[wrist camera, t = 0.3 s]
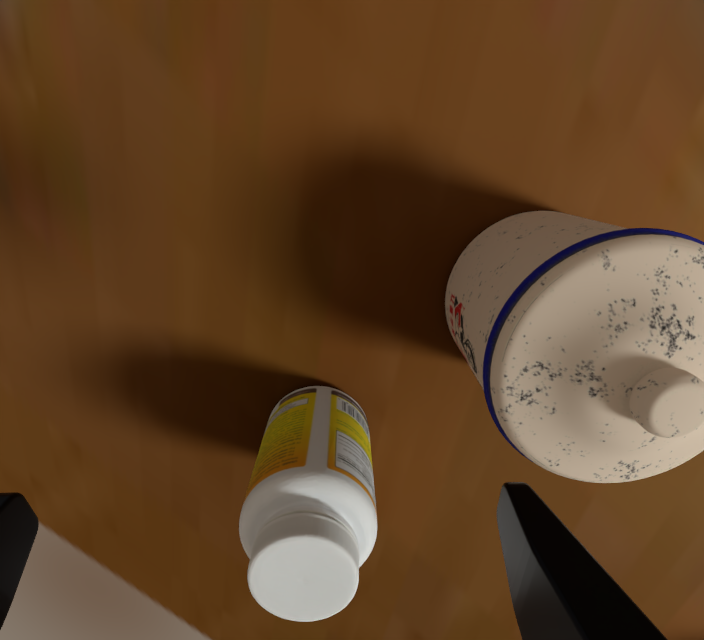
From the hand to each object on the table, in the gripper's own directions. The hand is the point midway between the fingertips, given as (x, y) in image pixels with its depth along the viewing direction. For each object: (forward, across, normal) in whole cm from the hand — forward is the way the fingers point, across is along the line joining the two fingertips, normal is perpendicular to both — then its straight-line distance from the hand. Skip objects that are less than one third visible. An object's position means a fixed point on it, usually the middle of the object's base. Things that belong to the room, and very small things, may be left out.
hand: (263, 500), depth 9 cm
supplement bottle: (+13, 0, +12) cm, 18 cm away
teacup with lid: (+15, -11, +6) cm, 20 cm away
